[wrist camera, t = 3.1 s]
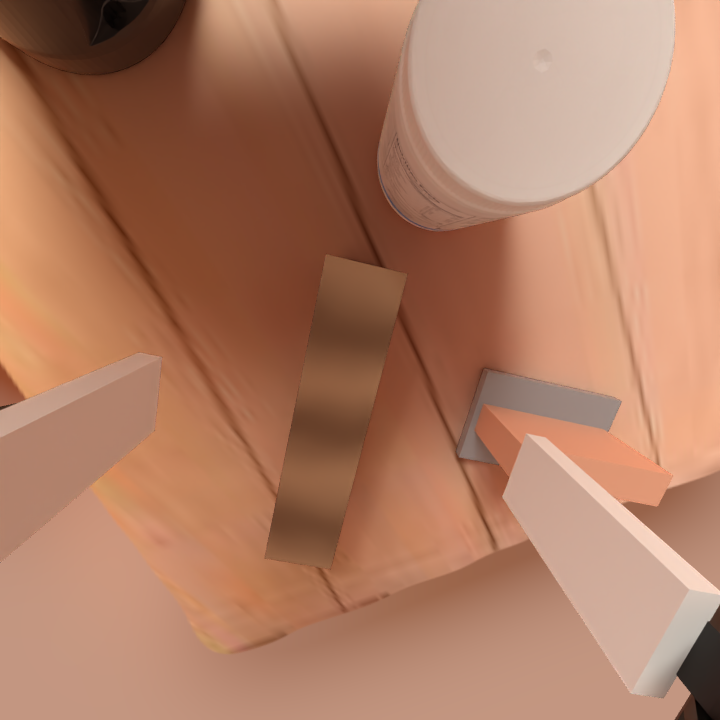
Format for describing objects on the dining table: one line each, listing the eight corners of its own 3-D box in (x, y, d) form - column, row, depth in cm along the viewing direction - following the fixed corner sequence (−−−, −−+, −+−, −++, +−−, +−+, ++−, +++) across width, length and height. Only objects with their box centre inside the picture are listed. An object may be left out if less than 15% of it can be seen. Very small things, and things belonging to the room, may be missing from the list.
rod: (333, 522, 29) (330, 569, 25) (277, 513, 29) (264, 558, 24) (397, 271, 24) (407, 273, 20) (330, 255, 24) (325, 254, 19)
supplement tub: (439, 54, 25) (561, -226, 10) (533, 155, 26) (746, 36, 12) (347, 173, 26) (346, 73, 12) (441, 261, 28) (535, 262, 14)
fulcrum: (455, 451, 33) (488, 510, 25) (483, 368, 31) (529, 404, 23) (578, 476, 34) (647, 540, 26) (613, 397, 32) (698, 441, 24)
